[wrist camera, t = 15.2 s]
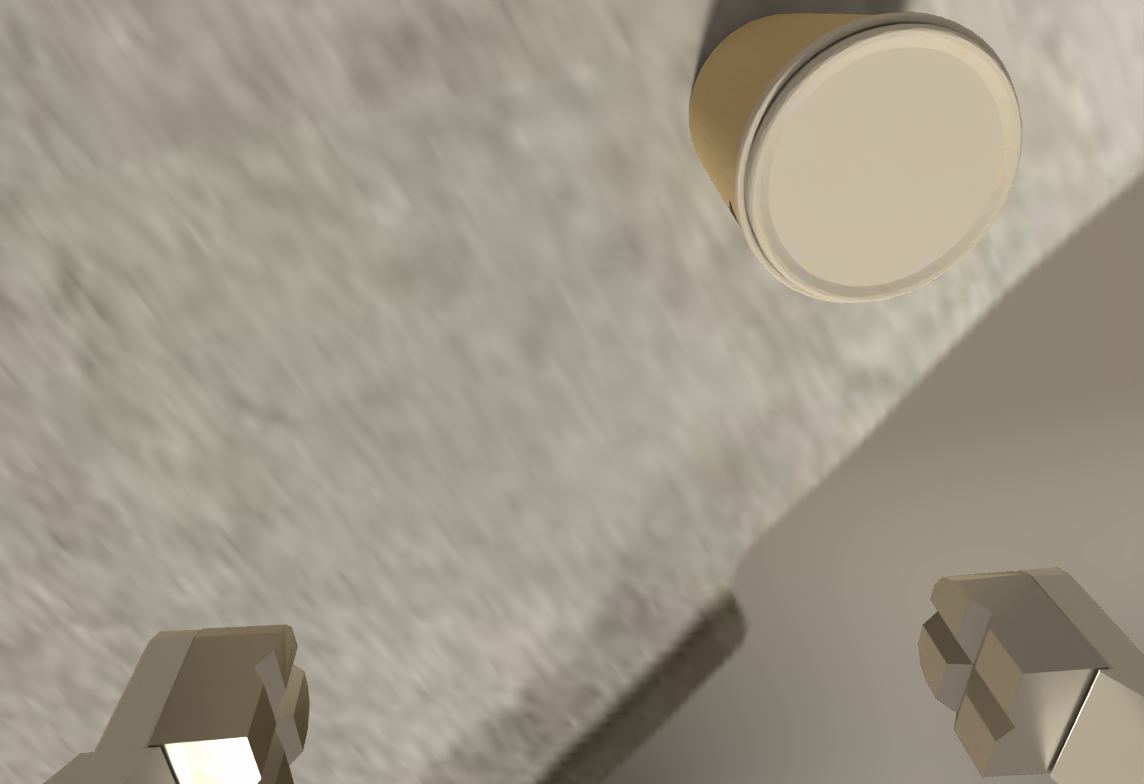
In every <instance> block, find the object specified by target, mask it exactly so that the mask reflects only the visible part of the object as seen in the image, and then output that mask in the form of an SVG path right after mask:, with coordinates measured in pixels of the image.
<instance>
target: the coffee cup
mask: <svg viewBox="0 0 1144 784" xmlns="http://www.w3.org/2000/svg"><path fill="white" fill-rule="evenodd" d="M689 126H690V133H691V138H692V141H693V145H694V147H695V150H696V152H697V155H698V157H699V159H700V161H701V163H702V164H703V166H704V168H705V170H706V172H707V173H708V175H709V177H710V178H711V180H712V182H713V183H714V185H715V187H716V188H717V190H718V192H719V193H720V195H721V197H722V198H723V200H724V201H725V203H726V205H727V206H728V208H729V209H730V211H731V213H732V214H733V216H734V217H735V219H736V221H737V222H738V224H739V225H740V227H741V230H742V232H743V234H744V237H745V239H746V241H747V243H748V245H749V247H750V248H751V250H752V252H753V253H754V255H755V256H756V258H757V259H758V260H759V262H760V263H761V264H762V265H763V267H764V268H765V269H766V270H767V271H768V272H769V273H771V274H772V275H773V276H774V277H775V278H776V279H778V280H779V281H781V282H782V283H783V284H785V285H786V286H788V287H790V288H792V289H793V290H795V291H797V292H799V293H802V294H804V295H807V296H809V297H813V298H816V299H820V300H825V301H832V302H845V303H853V302H869V301H877V300H884V299H888V298H892V297H896V296H899V295H902V294H905V293H908V292H911V291H913V290H915V289H917V288H919V287H922V286H924V285H926V284H927V283H929V282H931V281H933V280H934V279H936V278H938V277H939V276H941V275H942V274H944V273H945V272H947V271H948V270H950V269H951V268H952V267H953V266H954V265H956V264H957V263H958V262H959V261H960V260H962V259H963V258H964V257H965V256H966V255H967V254H968V253H969V252H970V251H971V250H972V249H973V248H974V247H975V246H976V245H977V244H978V242H979V241H980V240H981V239H982V238H983V236H984V235H985V234H986V233H987V231H988V230H989V229H990V227H991V226H992V224H993V223H994V221H995V220H996V218H997V216H998V215H999V213H1000V211H1001V209H1002V207H1003V206H1004V204H1005V202H1006V200H1007V198H1008V195H1009V193H1010V190H1011V188H1012V185H1013V182H1014V179H1015V176H1016V173H1017V170H1018V165H1019V160H1020V155H1021V146H1022V121H1021V114H1020V108H1019V104H1018V99H1017V96H1016V93H1015V90H1014V87H1013V84H1012V82H1011V79H1010V76H1009V74H1008V72H1007V70H1006V68H1005V67H1004V65H1003V63H1002V61H1001V60H1000V59H999V57H998V56H997V54H996V53H995V52H994V50H993V49H992V48H991V47H990V46H989V45H988V44H987V43H986V42H985V41H984V40H983V39H981V38H980V37H979V36H977V35H976V34H975V33H974V32H972V31H971V30H969V29H967V28H965V27H963V26H962V25H960V24H958V23H956V22H953V21H951V20H948V19H945V18H943V17H939V16H935V15H931V14H926V13H915V12H895V13H884V14H878V15H866V14H825V13H790V14H775V15H771V16H766V17H762V18H759V19H756V20H753V21H751V22H748V23H747V24H745V25H743V26H741V27H739V28H738V29H736V30H735V31H733V32H732V33H730V34H729V35H728V36H727V37H726V38H725V39H724V40H722V41H721V42H720V43H719V44H718V46H717V47H716V48H715V49H714V50H713V51H712V53H711V54H710V55H709V57H708V58H707V60H706V61H705V63H704V65H703V66H702V68H701V70H700V72H699V74H698V76H697V79H696V82H695V84H694V88H693V91H692V95H691V101H690V107H689Z"/></svg>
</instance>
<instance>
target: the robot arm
mask: <svg viewBox="0 0 1144 784" xmlns="http://www.w3.org/2000/svg"><path fill="white" fill-rule="evenodd" d="M930 600H931V601H932V603H933V605H934V606H935V607H936V609H937V611H938V612H936V613H935V614H934V615H933V616H932V617H931V618H930V619H929V620H928V621H926V622H925V623H924V624H923V626H922V630H921V634H920V638H919V643H918V647H919V655H920V665H921V668H922V671H923V674H924V676H925V679H926V682H927V684H928V686H929V687H930V689H931V691H932V693H933V694H934V696H935V698H936V699H937V700H939V701H940V702H941V703H943V704H944V705H946V706H947V707H949V708H950V709H952V710H953V711H955V712H956V713H957V714H956V719H955V725H954V731H955V732H956V734H957V736H958V737H959V739H960V741H961V742H962V744H963V746H964V747H965V749H966V751H967V753H968V754H969V756H970V757H971V759H972V761H973V762H974V764H975V766H976V768H977V769H978V771H979V773H980V774H981V776H982V777H993V776H1009V775H1027V774H1042V773H1051V775H1050V777H1051V778H1052V779H1053V780H1054V781H1056V782H1057V783H1058V784H1144V654H1143V653H1142V652H1141V651H1140V650H1139V649H1138V648H1137V647H1136V646H1135V645H1134V643H1133V642H1132V641H1131V640H1130V639H1129V638H1128V637H1127V636H1126V635H1125V634H1124V633H1123V631H1122V630H1121V629H1120V628H1119V627H1118V626H1117V625H1116V624H1115V623H1114V622H1113V621H1112V619H1111V618H1110V617H1109V616H1108V615H1107V614H1106V613H1105V612H1104V611H1103V610H1102V609H1101V607H1100V606H1098V604H1097V603H1096V602H1095V601H1094V600H1093V599H1092V598H1091V597H1090V595H1089V594H1087V592H1086V591H1085V590H1084V589H1083V588H1082V587H1081V586H1080V585H1079V584H1078V583H1077V581H1076V580H1075V579H1074V578H1073V577H1072V576H1071V575H1070V574H1069V573H1067V572H1065V571H1064V570H1062V569H1060V568H1058V567H1055V568H1042V569H1030V570H1020V571H1017V572H1015V571H1006V572H995V573H982V574H970V575H958V576H947V577H942V578H941V579H940V580H939V581H938V582H937V583H936V584H935V586H934V589H933V592H932V596H931V599H930ZM297 647H298V646H297V643H296V639H295V636H294V633H293V630H292V627H291V626H288V625H269V626H248V627H227V628H206V629H202V630H181V631H160V632H159V633H158V634H157V635H156V636H154V637H153V638H152V639H151V640H150V641H149V642H148V644H147V646H146V648H145V650H144V652H143V654H142V656H141V658H140V660H139V662H138V664H137V667H136V669H135V671H134V673H133V675H132V677H131V679H130V681H129V683H128V685H127V687H126V689H125V691H124V693H123V695H122V697H121V699H120V701H119V703H118V705H117V707H116V709H115V711H114V713H113V715H112V717H111V719H110V721H109V723H108V725H107V727H106V729H105V731H104V733H103V735H102V737H101V739H100V741H99V743H98V745H97V747H96V749H95V751H94V752H89V753H80V754H79V755H78V756H77V757H75V758H74V759H73V760H72V761H70V762H69V763H68V764H67V765H66V766H64V767H63V768H62V769H61V770H59V771H58V772H57V773H56V774H55V775H53V776H52V777H51V778H50V779H48V780H47V781H46V782H45V783H44V784H294V781H293V778H292V774H291V771H290V767H289V765H290V764H291V763H292V762H293V761H294V760H295V759H296V758H297V757H298V756H299V755H300V754H301V753H302V752H303V749H304V744H305V739H306V735H307V730H308V718H309V693H308V685H307V681H306V677H305V672H304V671H303V670H301V669H300V668H298V667H297V666H296V665H294V664H293V662H294V658H295V654H296V650H297Z"/></svg>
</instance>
